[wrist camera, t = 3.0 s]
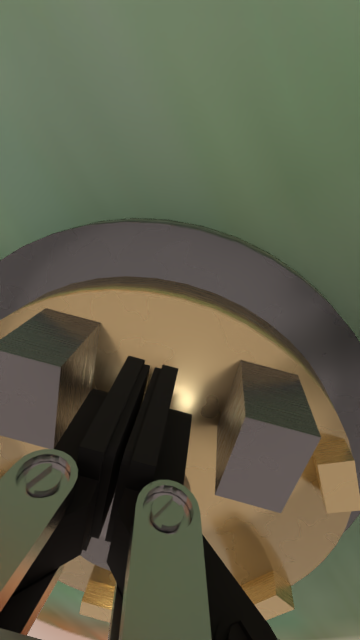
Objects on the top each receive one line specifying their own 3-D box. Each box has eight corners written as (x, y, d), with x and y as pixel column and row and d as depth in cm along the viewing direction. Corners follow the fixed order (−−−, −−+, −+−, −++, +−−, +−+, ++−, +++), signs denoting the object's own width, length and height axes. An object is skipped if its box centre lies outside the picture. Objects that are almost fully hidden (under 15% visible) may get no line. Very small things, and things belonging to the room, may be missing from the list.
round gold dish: (263, 602, 20) (274, 731, 15) (-23, 520, 20) (-97, 620, 15) (419, 344, 12) (534, 440, 8) (-37, 226, 13) (-184, 250, 8)
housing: (424, 210, 12) (453, 214, 10) (336, 580, 20) (345, 612, 19) (-101, 224, 15) (-139, 229, 13) (11, 542, 23) (-4, 568, 22)
